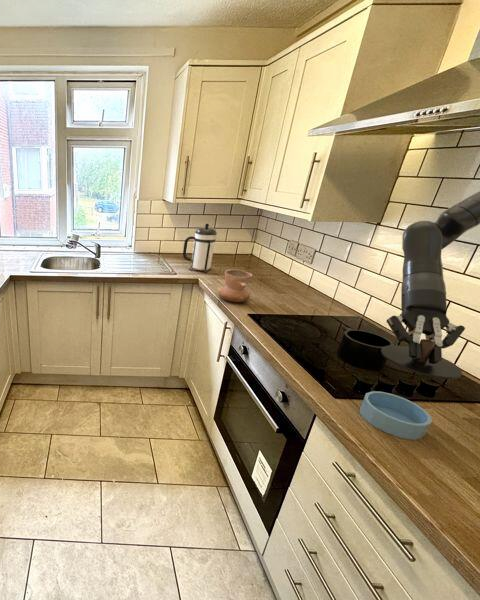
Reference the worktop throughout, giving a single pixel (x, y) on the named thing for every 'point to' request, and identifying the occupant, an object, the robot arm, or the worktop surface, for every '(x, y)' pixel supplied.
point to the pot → (363, 349)
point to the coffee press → (201, 248)
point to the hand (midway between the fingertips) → (424, 360)
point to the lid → (421, 361)
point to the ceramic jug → (235, 286)
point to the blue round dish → (395, 415)
